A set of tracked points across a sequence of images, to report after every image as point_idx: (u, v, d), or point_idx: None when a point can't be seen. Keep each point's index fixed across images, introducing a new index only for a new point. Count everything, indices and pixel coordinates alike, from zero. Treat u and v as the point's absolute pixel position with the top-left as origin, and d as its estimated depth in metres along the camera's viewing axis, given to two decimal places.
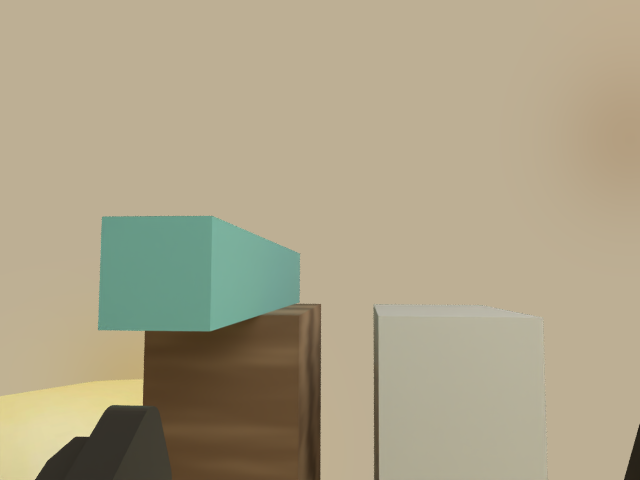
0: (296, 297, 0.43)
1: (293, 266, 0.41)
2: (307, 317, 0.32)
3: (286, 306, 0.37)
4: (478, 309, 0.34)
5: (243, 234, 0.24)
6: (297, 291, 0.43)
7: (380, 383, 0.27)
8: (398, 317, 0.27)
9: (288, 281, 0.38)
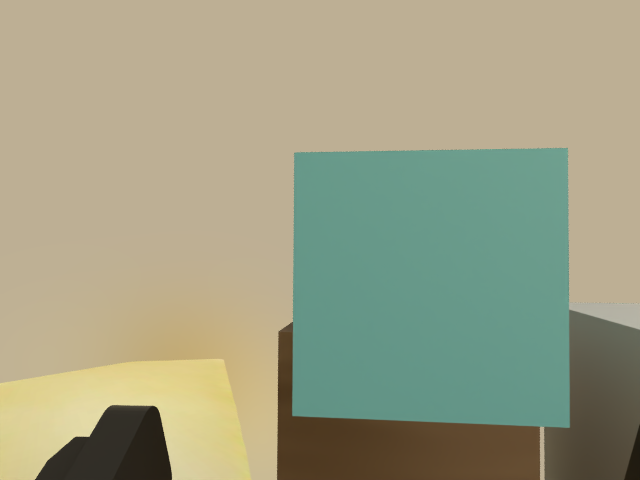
0: None
1: None
2: None
3: None
4: None
5: None
6: None
7: None
8: None
9: None
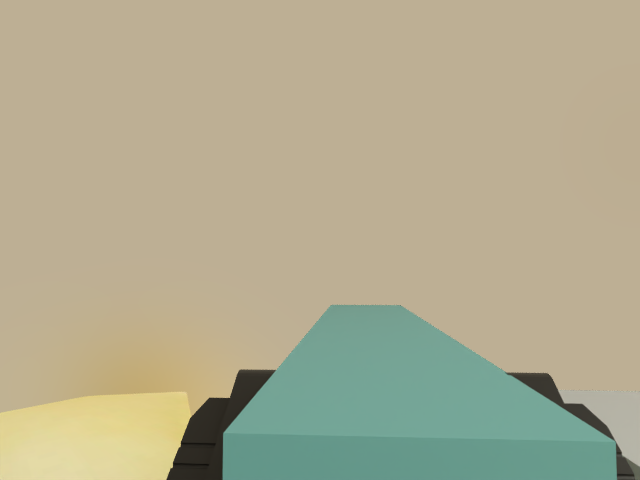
0: None
1: None
2: None
3: None
4: None
5: None
6: None
7: None
8: None
9: None
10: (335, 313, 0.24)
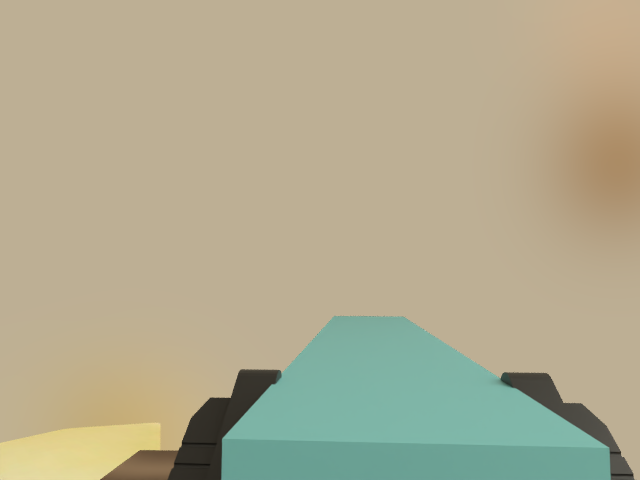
0: None
1: None
2: None
3: None
4: None
5: None
6: None
7: None
8: None
9: None
10: (338, 324, 0.24)
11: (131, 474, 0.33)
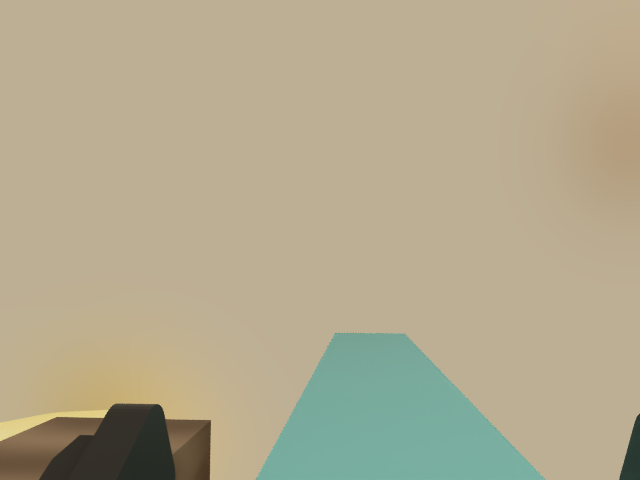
0: None
1: None
2: None
3: None
4: None
5: None
6: None
7: None
8: None
9: None
10: (339, 346, 0.24)
11: (23, 447, 0.23)
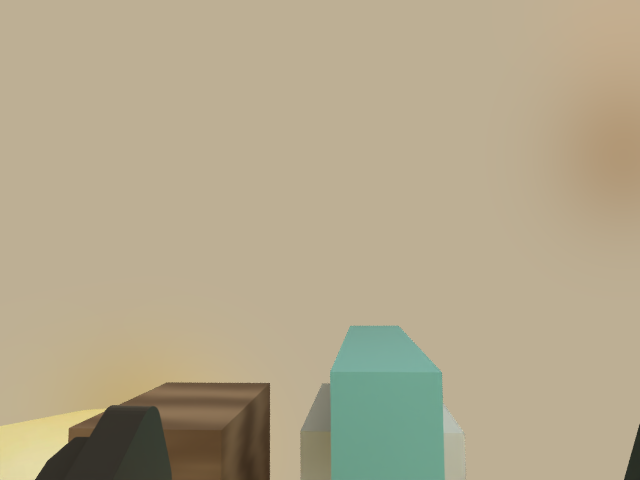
0: None
1: None
2: (240, 418, 0.31)
3: None
4: None
5: None
6: None
7: None
8: (320, 432, 0.27)
9: None
10: (354, 332, 0.38)
11: (161, 395, 0.37)
